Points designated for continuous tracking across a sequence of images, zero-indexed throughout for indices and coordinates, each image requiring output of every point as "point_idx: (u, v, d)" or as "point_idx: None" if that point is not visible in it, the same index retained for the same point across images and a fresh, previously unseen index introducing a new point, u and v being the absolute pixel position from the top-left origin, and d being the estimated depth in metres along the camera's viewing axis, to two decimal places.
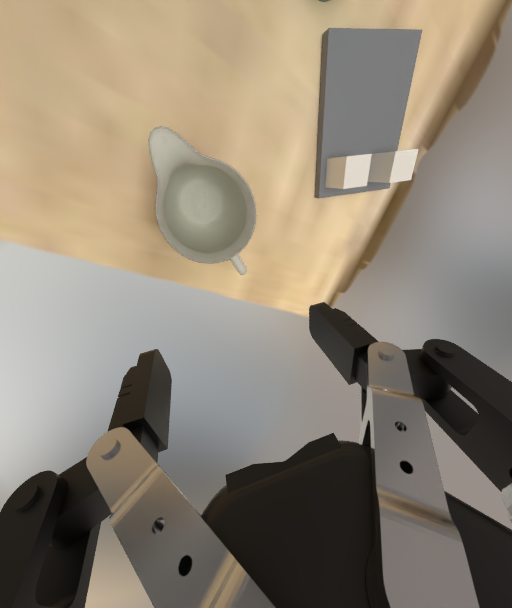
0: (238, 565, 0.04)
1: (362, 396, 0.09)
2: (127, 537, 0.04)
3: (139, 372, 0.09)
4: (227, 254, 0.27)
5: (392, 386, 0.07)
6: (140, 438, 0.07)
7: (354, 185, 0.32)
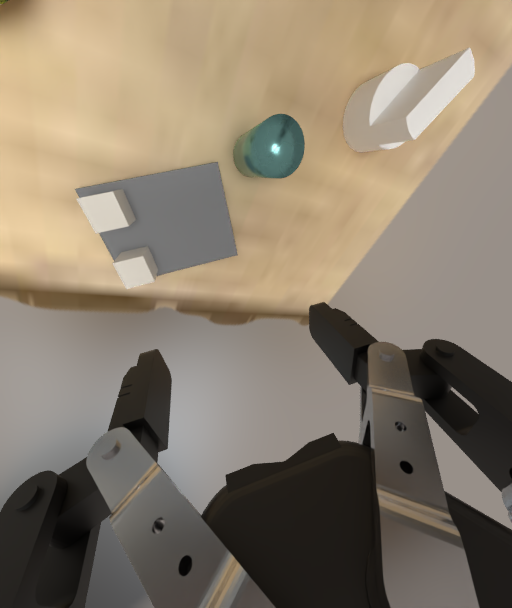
0: (238, 565, 0.04)
1: (362, 396, 0.09)
2: (127, 537, 0.04)
3: (139, 372, 0.09)
4: None
5: (392, 386, 0.07)
6: (140, 438, 0.07)
7: (88, 215, 0.26)
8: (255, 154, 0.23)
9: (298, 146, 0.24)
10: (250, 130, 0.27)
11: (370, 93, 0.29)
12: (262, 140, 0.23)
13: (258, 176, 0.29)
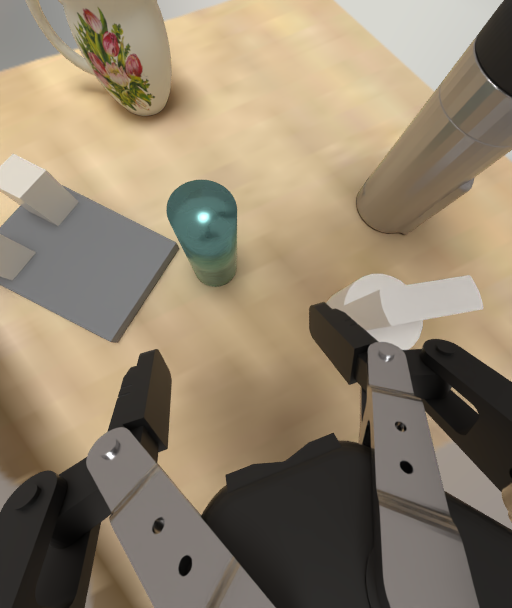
0: (238, 565, 0.04)
1: (362, 396, 0.09)
2: (127, 537, 0.04)
3: (139, 372, 0.09)
4: None
5: (392, 386, 0.07)
6: (140, 438, 0.07)
7: (2, 167, 0.23)
8: (171, 196, 0.18)
9: (224, 222, 0.18)
10: None
11: (354, 282, 0.25)
12: (187, 189, 0.18)
13: (186, 255, 0.22)
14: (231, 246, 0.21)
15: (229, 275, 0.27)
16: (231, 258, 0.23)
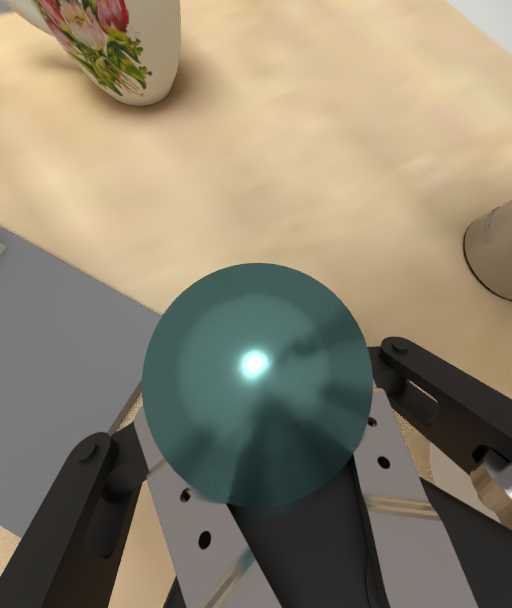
0: (253, 558, 0.04)
1: None
2: (159, 497, 0.05)
3: None
4: None
5: None
6: None
7: None
8: (161, 320, 0.05)
9: (336, 418, 0.05)
10: None
11: None
12: (213, 298, 0.06)
13: None
14: None
15: None
16: None
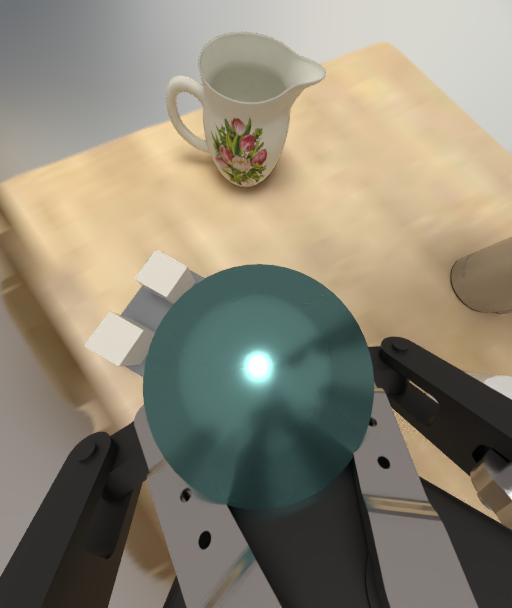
0: (253, 558, 0.04)
1: None
2: (159, 497, 0.05)
3: None
4: (204, 65, 0.24)
5: None
6: None
7: (148, 264, 0.24)
8: (162, 322, 0.05)
9: (338, 420, 0.05)
10: None
11: None
12: (215, 300, 0.06)
13: None
14: None
15: None
16: None
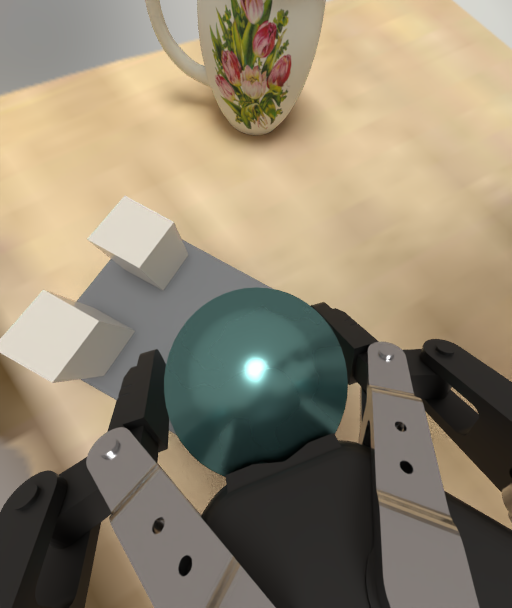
0: (238, 565, 0.04)
1: (362, 396, 0.09)
2: (127, 537, 0.04)
3: (139, 372, 0.09)
4: None
5: (392, 386, 0.07)
6: (140, 438, 0.07)
7: (111, 216, 0.15)
8: (177, 335, 0.07)
9: (317, 414, 0.07)
10: None
11: None
12: (219, 317, 0.07)
13: None
14: None
15: None
16: None
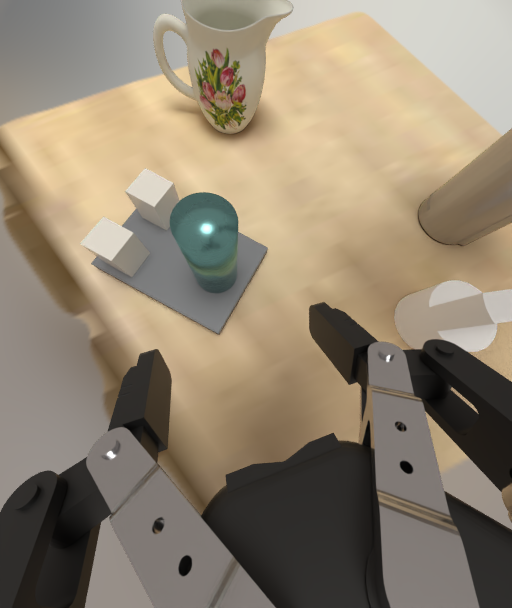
0: (238, 565, 0.04)
1: (362, 396, 0.09)
2: (127, 537, 0.04)
3: (139, 372, 0.09)
4: (186, 2, 0.27)
5: (392, 386, 0.07)
6: (140, 438, 0.07)
7: (138, 179, 0.27)
8: (174, 208, 0.18)
9: (225, 234, 0.18)
10: None
11: (432, 287, 0.29)
12: (190, 202, 0.18)
13: (188, 264, 0.23)
14: (232, 256, 0.21)
15: (229, 282, 0.28)
16: (232, 267, 0.24)
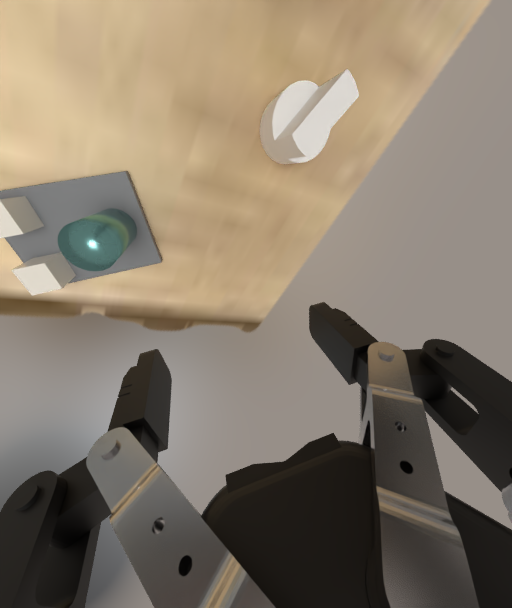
0: (238, 565, 0.04)
1: (362, 396, 0.09)
2: (127, 537, 0.04)
3: (139, 372, 0.09)
4: None
5: (392, 386, 0.07)
6: (140, 438, 0.07)
7: None
8: (63, 255, 0.24)
9: (109, 244, 0.25)
10: None
11: (272, 108, 0.30)
12: (65, 243, 0.24)
13: None
14: (123, 238, 0.28)
15: (134, 232, 0.34)
16: (127, 234, 0.30)
